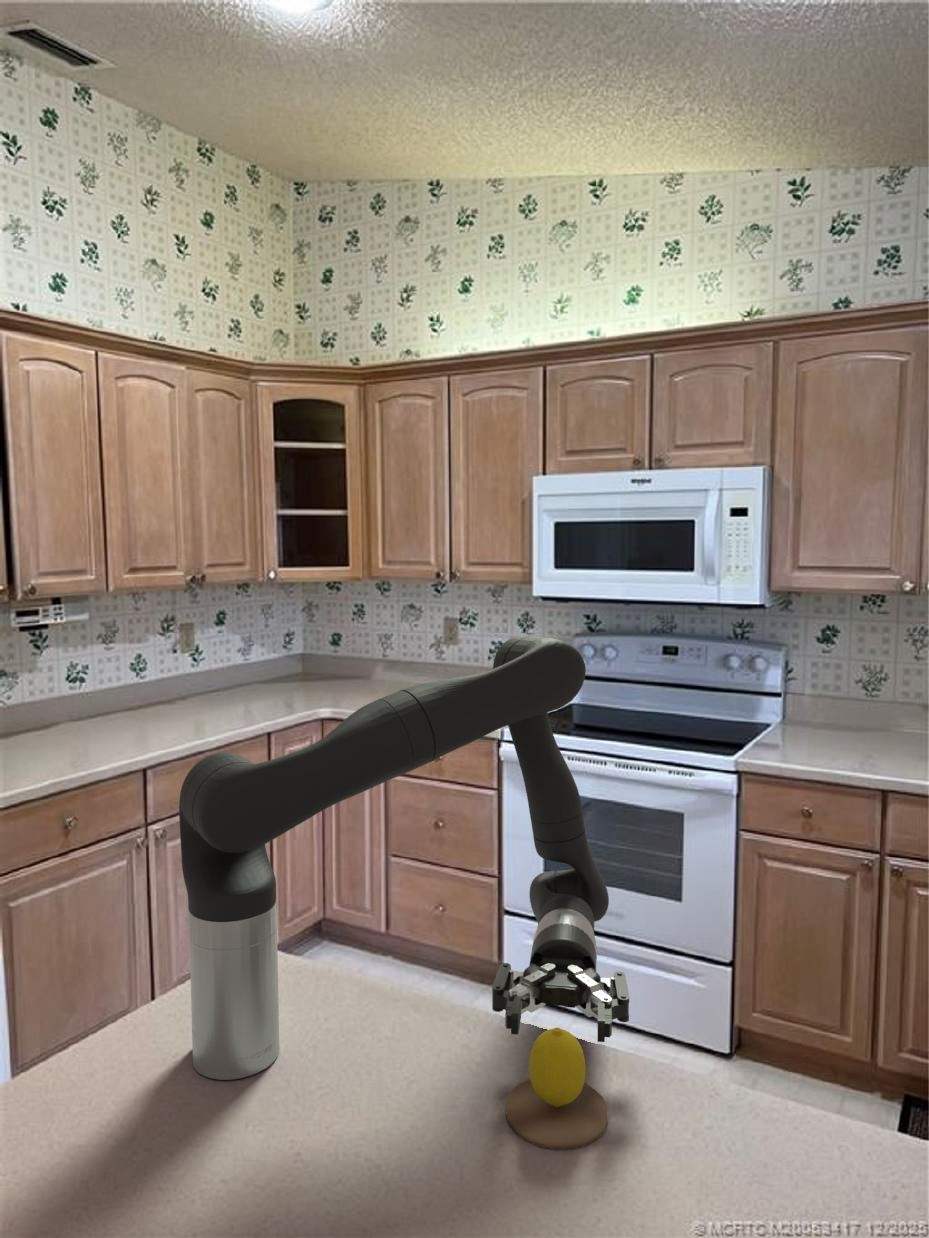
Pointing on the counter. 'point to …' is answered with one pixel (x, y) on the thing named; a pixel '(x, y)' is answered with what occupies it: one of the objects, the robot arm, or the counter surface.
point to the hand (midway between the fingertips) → (557, 1029)
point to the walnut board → (556, 1118)
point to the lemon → (557, 1067)
